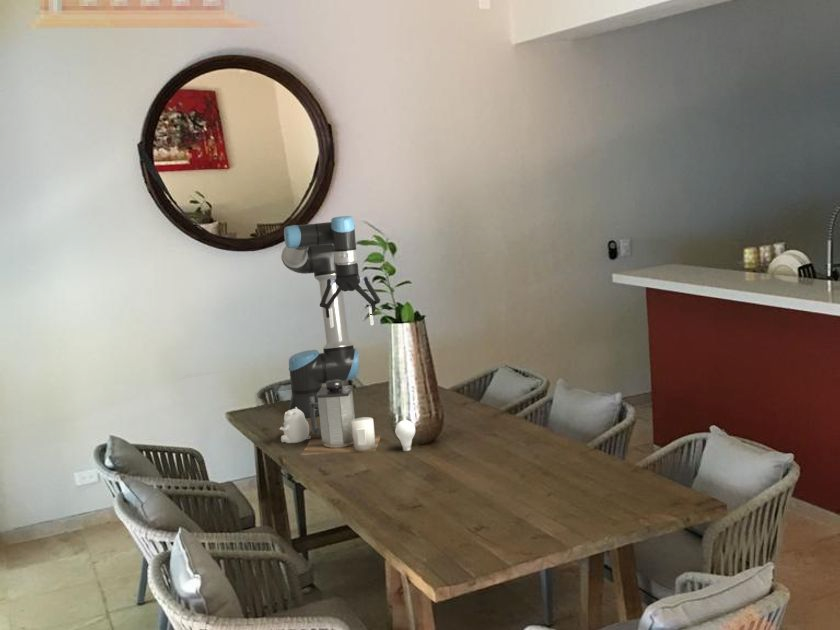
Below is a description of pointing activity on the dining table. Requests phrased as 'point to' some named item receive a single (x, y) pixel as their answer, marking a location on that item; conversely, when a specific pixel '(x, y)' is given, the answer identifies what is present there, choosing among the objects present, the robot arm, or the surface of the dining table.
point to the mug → (363, 433)
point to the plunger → (334, 385)
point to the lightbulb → (405, 433)
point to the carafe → (334, 416)
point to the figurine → (295, 427)
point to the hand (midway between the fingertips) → (352, 326)
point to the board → (318, 448)
